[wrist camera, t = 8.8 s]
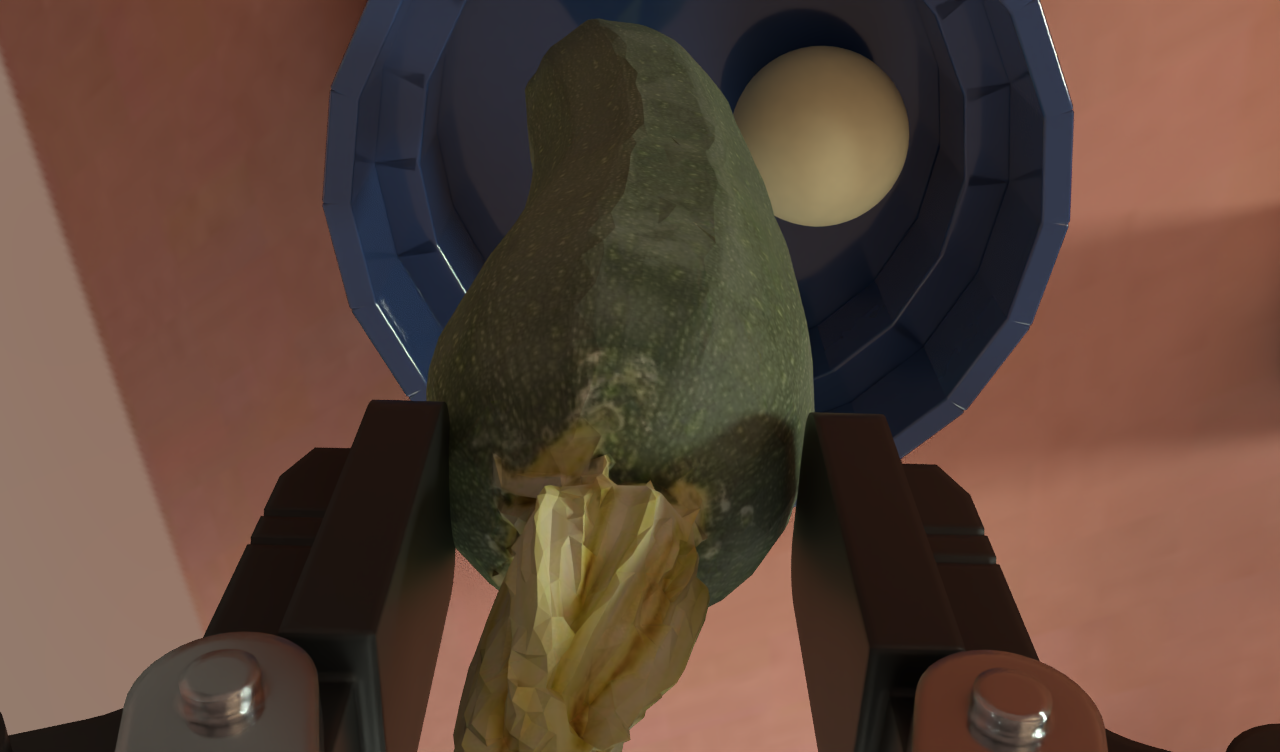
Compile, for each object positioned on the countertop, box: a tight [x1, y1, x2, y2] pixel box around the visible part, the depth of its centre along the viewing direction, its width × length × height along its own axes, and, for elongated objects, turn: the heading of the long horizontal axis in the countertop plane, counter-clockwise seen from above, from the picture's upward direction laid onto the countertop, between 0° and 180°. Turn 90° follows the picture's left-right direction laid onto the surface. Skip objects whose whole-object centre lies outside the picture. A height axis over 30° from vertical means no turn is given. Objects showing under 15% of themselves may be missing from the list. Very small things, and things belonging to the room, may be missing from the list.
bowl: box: [322, 0, 1074, 507], centre depth 28 cm, size 15×15×6 cm
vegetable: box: [426, 18, 815, 752], centre depth 17 cm, size 4×4×20 cm
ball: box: [733, 46, 909, 227], centre depth 28 cm, size 4×4×4 cm
